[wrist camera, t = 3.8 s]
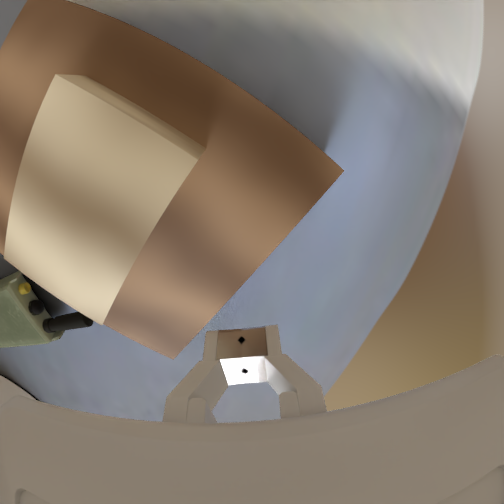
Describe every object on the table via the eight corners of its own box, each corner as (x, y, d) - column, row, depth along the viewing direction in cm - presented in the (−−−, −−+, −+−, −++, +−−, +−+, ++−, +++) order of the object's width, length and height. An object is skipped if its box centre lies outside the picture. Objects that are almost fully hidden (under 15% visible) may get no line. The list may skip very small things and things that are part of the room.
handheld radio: (-14, 336, 23) (105, 315, 20) (-24, 352, 20) (92, 344, 17) (-41, 298, 20) (62, 247, 17) (-53, 314, 17) (40, 273, 14)
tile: (115, 296, 15) (102, 325, 13) (26, 236, 13) (3, 258, 11) (206, 148, 11) (198, 160, 9) (85, 75, 9) (55, 74, 7)
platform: (179, 325, 21) (173, 359, 18) (-13, 198, 14) (-40, 216, 11) (323, 155, 15) (344, 170, 12) (63, 2, 8) (33, -9, 5)
